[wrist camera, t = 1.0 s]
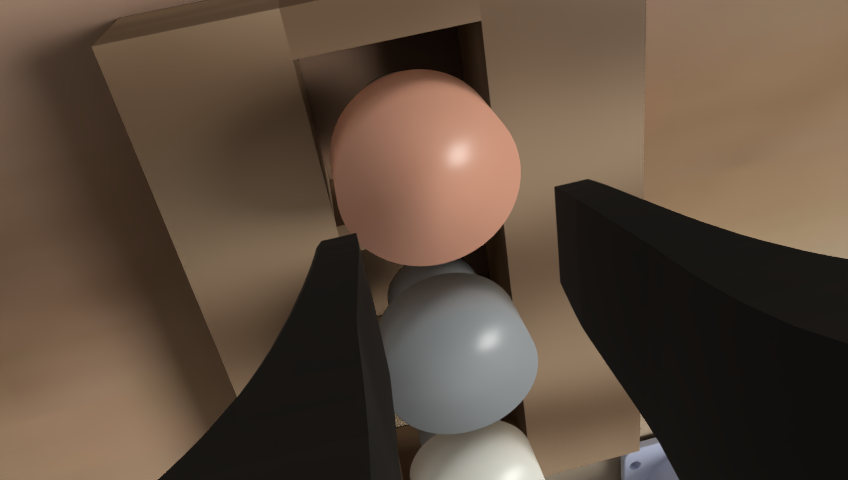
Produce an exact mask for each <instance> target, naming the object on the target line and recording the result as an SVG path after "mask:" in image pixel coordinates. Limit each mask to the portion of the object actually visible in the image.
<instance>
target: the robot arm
mask: <svg viewBox="0 0 848 480" xmlns="http://www.w3.org/2000/svg"><path fill="white" fill-rule="evenodd" d="M554 192H555V208H556V224H557V240H558V255H559V271H560V283H561V285H562V287H563V290H564V292H565V294H566V296H567V298H568V300H569V302H570V304H571V307H572V309H573V311H574V313H575V315H576V316H577V318H578V320H579V322H580V324H581V326H582V328H583V330H584V331H585V333H586V334H587V336H588V337H589V339H590V340H591V342H592V343H593V345H594V346H595V348H596V349H597V351H598V352H599V353H600V355H601V356H602V358H603V359H604V361H605V362H606V364H607V365H608V367H609V368H610V370H611V371H612V373H613V374H614V375H615V377H616V378H617V380H618V381H619V383H620V384H621V386H622V387H623V389H624V390H625V391H626V393H627V394H628V396H629V397H630V399H631V400H632V402H633V403H634V405H635V406H636V408H637V409H638V410H639V412H640V413H641V415H642V416H643V418H644V419H645V421H646V422H647V424H648V425H649V427H650V429H651V430H652V432H653V434H654V435H655V438H651V439H648V440H644V441H640V451H637V452H633V453H630V454H626V455H622V456H621V480H848V259H844V258H838V257H832V256H827V255H822V254H817V253H812V252H807V251H803V250H799V249H794V248H790V247H786V246H782V245H778V244H774V243H770V242H766V241H762V240H758V239H755V238H751V237H748V236H744V235H741V234H737V233H734V232H731V231H728V230H725V229H722V228H719V227H716V226H713V225H710V224H707V223H704V222H701V221H698V220H695V219H693V218H690V217H687V216H684V215H682V214H679V213H676V212H674V211H671V210H668V209H666V208H663V207H661V206H658V205H656V204H653V203H651V202H648V201H646V200H643V199H641V198H638V197H636V196H633V195H631V194H628V193H626V192H623V191H621V190H618V189H616V188H613V187H611V186H608V185H605V184H603V183H600V182H597V181H593V180H590V179H585V180H581V181H577V182H572V183H568V184H564V185H559V186H555V187H554ZM158 480H401V473H400V464H399V454H398V444H397V435H396V425H395V416H394V406H393V397H392V387H391V378H390V372H389V367H388V363H387V358H386V354H385V349H384V345H383V340H382V336H381V331H380V327H379V323H378V319H377V315H376V311H375V307H374V303H373V298H372V294H371V290H370V286H369V282H368V278H367V274H366V270H365V266H364V262H363V258H362V254H361V250H360V246H359V241H358V237H357V233H353V234H349V235H345V236H340V237H336V238H332V239H328V240H323V241H321V242H320V244H319V245H318V246H317V248H316V251H315V255H314V258H313V261H312V264H311V267H310V269H309V272H308V274H307V277H306V279H305V282H304V284H303V287H302V289H301V291H300V293H299V295H298V298H297V300H296V302H295V304H294V306H293V308H292V311H291V313H290V315H289V317H288V319H287V320H286V322H285V324H284V326H283V328H282V329H281V331H280V333H279V335H278V336H277V338H276V340H275V342H274V344H273V345H272V347H271V349H270V351H269V352H268V354H267V355H266V357H265V358H264V360H263V362H262V363H261V365H260V366H259V368H258V369H257V371H256V372H255V374H254V375H253V376H252V378H251V379H250V381H249V382H248V383H247V385H246V386H245V388H244V389H243V390H242V392H241V393H240V394H239V395H238V397H237V398H236V399H235V400H234V401H233V402H232V404H231V405H230V406H229V407H228V408H227V409H226V410H225V412H224V413H223V414H222V415H221V416H220V417H219V419H218V420H217V421H216V422H215V423H214V424H213V426H212V427H211V428H210V429H209V430H208V431H207V432H206V433H205V434H204V436H203V437H202V438H201V439H200V440H199V441H198V442H197V443H196V444H195V445H194V446H193V447H192V448H191V449H190V450H189V451H188V452H187V453H186V454H185V455H184V456H183V457H182V458H181V459H180V460H178V461H177V462H176V463H175V464H174V465H173V466H172V467H171V468H170V469H169V470H168V471H167V472H166V473H165V474H164V475H163V476H161V477H160V478H159V479H158Z"/></svg>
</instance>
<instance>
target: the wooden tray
mask: <svg viewBox="0 0 848 480" xmlns="http://www.w3.org/2000/svg"><path fill="white" fill-rule="evenodd" d="M453 26H457V28H458V35H459V43H460V51H461V59H462V66H463V74H464V82H465V83H466V84H468V85H469V86H470V87H471V88H473V89H474V90H475V91H476V92H477V93H478V94H479V95H480V96H481V97H482V99H483V100H484V101H485V102H486V103H487V105H488V106H489V107H490V108H491V109H492V111H493V112H494V113H495V114H496V115H497V117H498V118H499V119H500V120H501V121H502V123H503V124H504V125H505V127H506V128H507V129H508V131H509V132H510V134H511V136H512V138H513V140H514V142H515V144H516V147H517V150H518V153H519V159H520V165H521V179H520V188H519V191H518V195H517V199H516V201H515V204H514V206H513V209H512V211H511V212H510V214H509V216H508V218H507V219H506V221H505V222H504V224H503V225H502V227H501V228H500V229H499V230H498V231H497V232H496V233H495V235H494V236H493V237H491V238H490V239H489V240H488V241H487V242H486V243H485V244H486V251H487V259H488V267H489V275H490V280H492V281H493V282H495V283H496V284H498V285H499V286H500V287H501V288H503V289H504V290H505V291H506V293H507V294H508V295H509V296H510V298H511V300H512V302H513V303H514V305H515V307H516V309H517V311H518V313H519V315H520V317H521V319H522V321H523V323H524V324H525V326H526V328H527V330H528V332H529V334H530V336H531V338H532V340H533V342H534V344H535V347H536V349H537V354H538V369H537V374H536V378H535V381H534V383H533V385H532V387H531V389H530V391H529V392H528V394H527V395H526V397H525V398H524V399H523V400H522V402H521V403H520V404H519V405H518V406H517V407H516V408H515V409H514V410H512V411H511V412H510V413H509V414H507V415H506V416H504V417H503V418H501V419H500V420H501V421H503V422H506V423H509V424H511V425H513V426H515V427H517V428H518V429H519V430H521V431H522V432H523V433H524V434H525V436H526V437H527V439H528V441H529V443H530V445H531V448H532V450H533V452H534V455H535V457H536V459H537V462H538V464H539V466H540V469H541V471H542V473H543V476H548V475H551V474H555V473H559V472H563V471H566V470H570V469H574V468H577V467H581V466H585V465H589V464H592V463H596V462H600V461H604V460H607V459H611V458H615V457H619V456H622V455H626V454H630V453H633V452H637V451H640V412H639V410H638V409H637V408H636V406H635V405H634V403H633V402H632V400H631V399H630V397H629V396H628V394H627V393H626V391H625V390H624V389H623V387H622V386H621V384H620V383H619V381H618V380H617V378H616V377H615V375H614V374H613V373H612V371H611V370H610V368H609V367H608V365H607V364H606V362H605V361H604V359H603V358H602V356H601V355H600V353H599V352H598V351H597V349H596V348H595V346H594V345H593V343H592V342H591V340H590V339H589V337H588V336H587V334H586V333H585V331H584V330H583V328H582V326H581V324H580V322H579V320H578V318H577V316H576V315H575V313H574V311H573V309H572V307H571V304H570V302H569V300H568V298H567V296H566V294H565V292H564V290H563V287H562V285H561V283H560V271H559V255H558V240H557V224H556V208H555V192H554V187H555V186H559V185H564V184H568V183H572V182H577V181H581V180H585V179H590V180H593V181H597V182H600V183H603V184H605V185H608V186H611V187H613V188H616V189H618V190H621V191H623V192H626V193H628V194H631V195H633V196H636V197H638V198H641V199H643V181H644V111H645V42H646V0H206V1H201V2H196V3H191V4H186V5H181V6H176V7H171V8H166V9H161V10H156V11H151V12H146V13H141V14H136V15H131V16H126V17H121V18H118V19H117V20H116V21H115V22H114V23H113V24H112V25H111V27H110V28H109V29H108V30H107V31H106V32H105V33H104V34H103V35H102V36H101V37H100V38H99V39H98V40H97V41H96V42H95V43H94V44H93V45H92V46H91V47H92V49H93V52H94V54H95V57H96V59H97V61H98V64H99V66H100V69H101V71H102V73H103V76H104V78H105V81H106V83H107V85H108V88H109V90H110V93H111V95H112V97H113V100H114V102H115V105H116V107H117V109H118V112H119V114H120V117H121V119H122V122H123V124H124V126H125V129H126V131H127V134H128V136H129V138H130V141H131V143H132V146H133V148H134V150H135V153H136V155H137V158H138V160H139V162H140V165H141V167H142V170H143V172H144V174H145V177H146V179H147V182H148V184H149V186H150V189H151V191H152V194H153V196H154V198H155V201H156V203H157V206H158V208H159V211H160V213H161V215H162V218H163V220H164V223H165V225H166V227H167V230H168V232H169V235H170V237H171V239H172V242H173V244H174V247H175V249H176V251H177V254H178V256H179V259H180V261H181V263H182V266H183V268H184V271H185V273H186V275H187V278H188V280H189V283H190V285H191V287H192V290H193V292H194V295H195V297H196V300H197V302H198V304H199V307H200V309H201V312H202V314H203V316H204V319H205V321H206V324H207V326H208V328H209V331H210V333H211V336H212V338H213V340H214V343H215V345H216V348H217V350H218V352H219V355H220V357H221V360H222V362H223V364H224V367H225V369H226V372H227V374H228V376H229V379H230V381H231V384H232V386H233V389H234V391H235V393H236V396H237V397H238V395H239V394H240V393H241V392H242V390H243V389H244V388H245V386H246V385H247V383H248V382H249V381H250V379H251V378H252V376H253V375H254V374H255V372H256V371H257V369H258V368H259V366H260V365H261V363H262V362H263V360H264V358H265V357H266V355H267V354H268V352H269V351H270V349H271V347H272V345H273V344H274V342H275V340H276V338H277V336H278V335H279V333H280V331H281V329H282V328H283V326H284V324H285V322H286V320H287V319H288V317H289V315H290V313H291V311H292V308H293V306H294V304H295V302H296V300H297V298H298V295H299V293H300V291H301V289H302V287H303V284H304V282H305V279H306V277H307V274H308V272H309V269H310V267H311V264H312V261H313V258H314V255H315V251H316V248H317V246H318V245H319V244H320V242H321V241H323V240H328V239H332V238H336V237H340V236H345V235H349V234H351V233H350V232H349V230H348V229H347V227H346V225H345V223H344V221H343V220H342V217H341V215H340V212H339V209H338V204H337V199H336V193H335V187H334V181H333V180H330V181H329V178H328V174H327V170H326V167H325V163H324V159H323V155H322V151H321V147H320V143H319V139H318V136H317V132H316V128H315V124H314V120H313V116H312V112H311V108H310V105H309V101H308V97H307V93H306V89H305V85H304V81H303V77H302V73H301V70H300V66H299V62H298V59H301V58H306V57H311V56H316V55H320V54H325V53H330V52H335V51H339V50H344V49H349V48H354V47H358V46H363V45H368V44H373V43H377V42H382V41H387V40H392V39H396V38H401V37H406V36H411V35H415V34H420V33H425V32H430V31H434V30H439V29H444V28H449V27H453ZM359 246H360V250H365V249H366V248H364V247H363V246H362V245H361V244H360V243H359ZM381 317H382V316H379V317H377V319H378V323H379V322H380V319H381ZM396 435H397V444H398V454H399V464H400V473H401V480H410V468H411V464H412V462H413V459H414V457H415V455H416V454H417V452H418V451H419V450H420V448H421V447H422V446H421V442H420V438H419V434H418V429H417V428H414V427H412V426H410V425H407V426H403V427H399V428H396Z"/></svg>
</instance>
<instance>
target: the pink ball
mask: <svg viewBox="0 0 848 480" xmlns="http://www.w3.org/2000/svg"><path fill="white" fill-rule="evenodd" d="M330 163H331V169H332V175H333V181H334V187H335V193H336V199H337V204H338V209H339V212H340V215H341V217H342V220H343V221H344V223H345V225H346V227H347V229H348V230H349V232H350V233H351V234H353V233H357V237H358V241H359V243H360V244H361V245H362V246H363V247H364V248H366V249H367V250H368V251H370V252H371V253H373V254H375V255H376V256H378V257H380V258H383V259H385V260H387V261H390V262H394V263H397V264H402V265H408V266H433V265H438V264H444V263H447V262H450V261H454V260H456V259H459V258H461V257H463V256H466V255H467V254H469V253H471V252H473V251H475V250H476V249H478V248H479V247H480V246H482V245H483V244H485V243H486V242H487V241H488V240H489V239H490V238H491V237H493V236H494V235H495V233H496V232H497V231H498V230H499V229H500V228H501V227H502V225H503V224H504V222H505V221H506V219H507V218H508V216H509V214H510V212H511V211H512V209H513V206H514V204H515V201H516V199H517V195H518V191H519V188H520V179H521V165H520V159H519V153H518V150H517V147H516V144H515V142H514V140H513V138H512V136H511V134H510V132H509V131H508V129H507V128H506V127H505V125H504V124H503V123H502V121H501V120H500V119H499V118H498V117H497V115H496V114H495V113H494V112H493V111H492V109H491V108H490V107H489V106H488V105H487V103H486V102H485V101H484V100H483V99H482V97H481V96H480V95H479V94H478V93H477V92H476V91H475V90H474V89H473V88H471V87H470V86H469V85H468V84H466V83H465V82H463V81H461V80H460V79H458V78H456V77H454V76H451V75H449V74H447V73H443V72H439V71H434V70H426V69H412V70H405V71H398V72H392V73H388V74H385V75H383V76H380V77H378V78H376V79H375V80H373V81H372V82H370V83H369V84H368V85H366V87H365V88H364V89H363V90H361V91H360V92H359V93H358V94H357V95H356V96H355V97H354V98H353V99H352V100H351V101H350V102H349V103H348V105H347V106H346V107H345V109H344V110H343V112H342V114H341V115H340V117H339V119H338V121H337V123H336V126H335V128H334V131H333V135H332V139H331V146H330Z"/></svg>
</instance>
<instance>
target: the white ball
mask: <svg viewBox="0 0 848 480" xmlns="http://www.w3.org/2000/svg"><path fill="white" fill-rule="evenodd" d="M418 434H419V438H420V442H421V446H422V447H421V448H420V450H419V451H418V452H417V454H416V455H415V457H414V459H413V462H412V464H411V468H410V480H545V478H544V476H543V473H542V471H541V469H540V466H539V464H538V462H537V459H536V457H535V455H534V452H533V450H532V448H531V445H530V443H529V441H528V439H527V437H526V436H525V434H524V433H523V432H522V431H521V430H519V429H518V428H517V427H515V426H513V425H511V424H509V423H506V422H503V421H501V420H498V421H496V422H494V423H492V424H491V425H488V426H486V427H483V428H481V429H477V430H474V431H470V432H466V433H459V434H435V433H430V432H425V431H422V430H419V429H418Z"/></svg>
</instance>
